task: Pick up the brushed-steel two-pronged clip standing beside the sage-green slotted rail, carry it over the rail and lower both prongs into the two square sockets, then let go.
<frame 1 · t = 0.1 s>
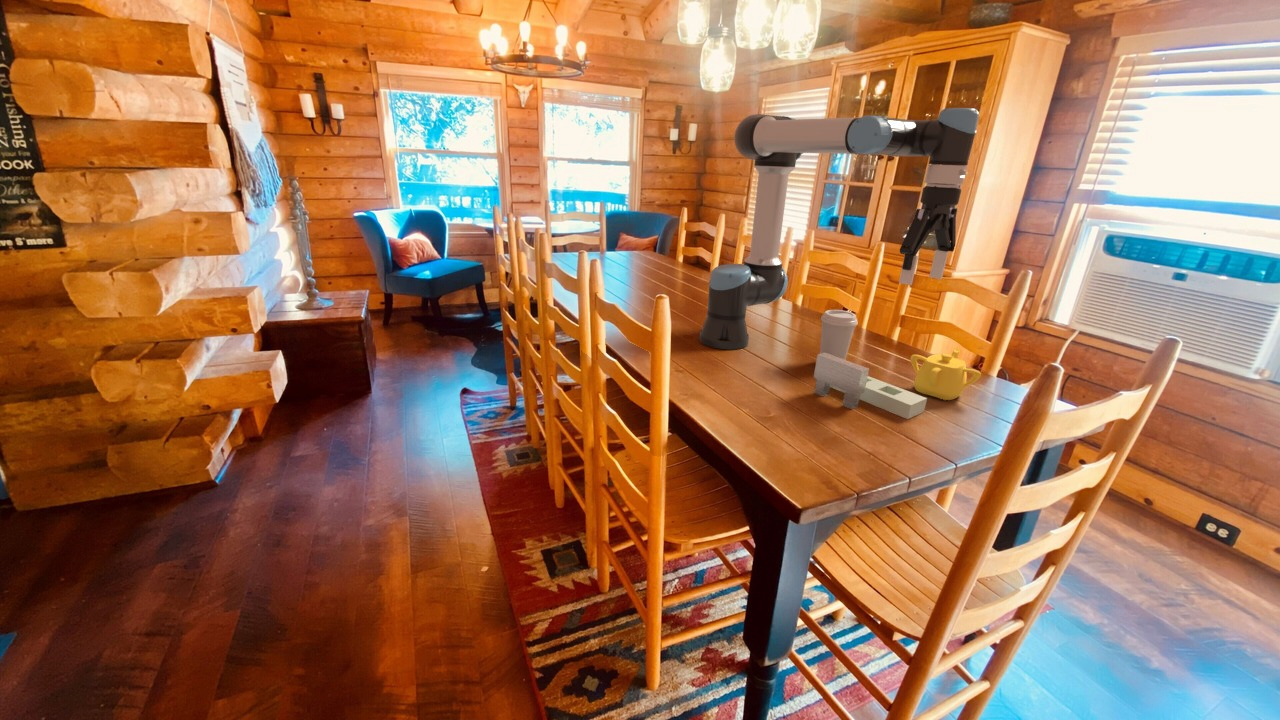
hand: (920, 281, 123), 28 cm above the table, fingers open, 13 cm apart
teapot: (937, 393, 133), on the table
clip: (835, 399, 126), on the table
coffee cup: (831, 365, 148), on the table
rail: (872, 397, 128), on the table
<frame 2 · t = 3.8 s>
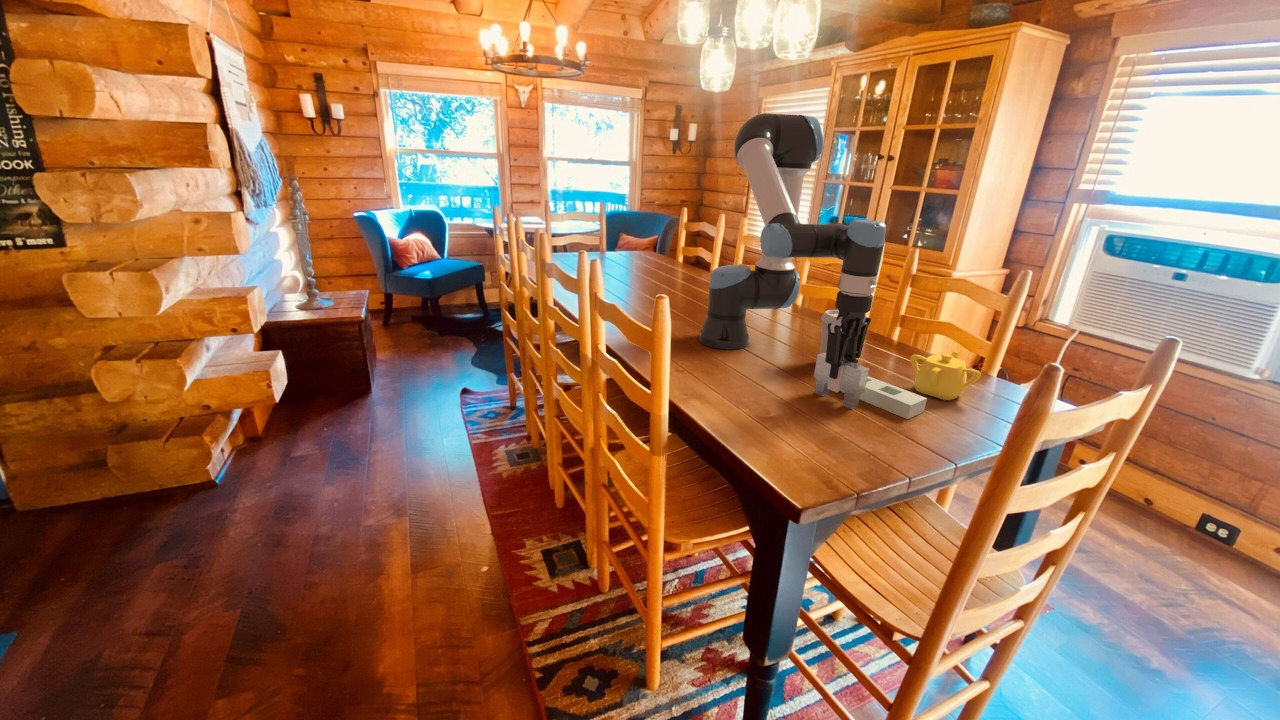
hand: (837, 388, 125), 3 cm above the table, fingers closed on clip, 3 cm apart
clip: (835, 399, 126), on the table, touching gripper
everything else where it was.
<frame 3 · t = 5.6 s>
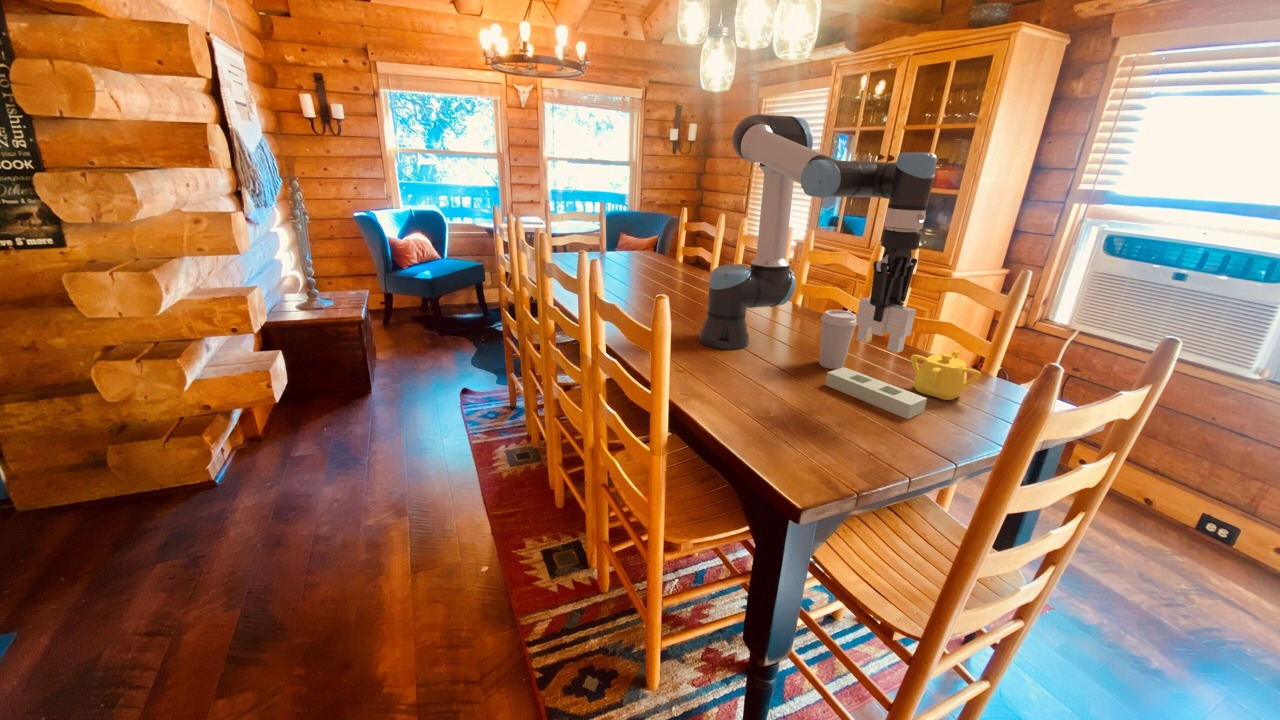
hand: (881, 332, 121), 17 cm above the table, fingers closed on clip, 3 cm apart
clip: (878, 345, 122), point 14 cm above the table, touching gripper
everything else where it was.
when the fingers open (6 cm above the table, at t = 7.8 s): clip drops 2 cm, resting on rail.
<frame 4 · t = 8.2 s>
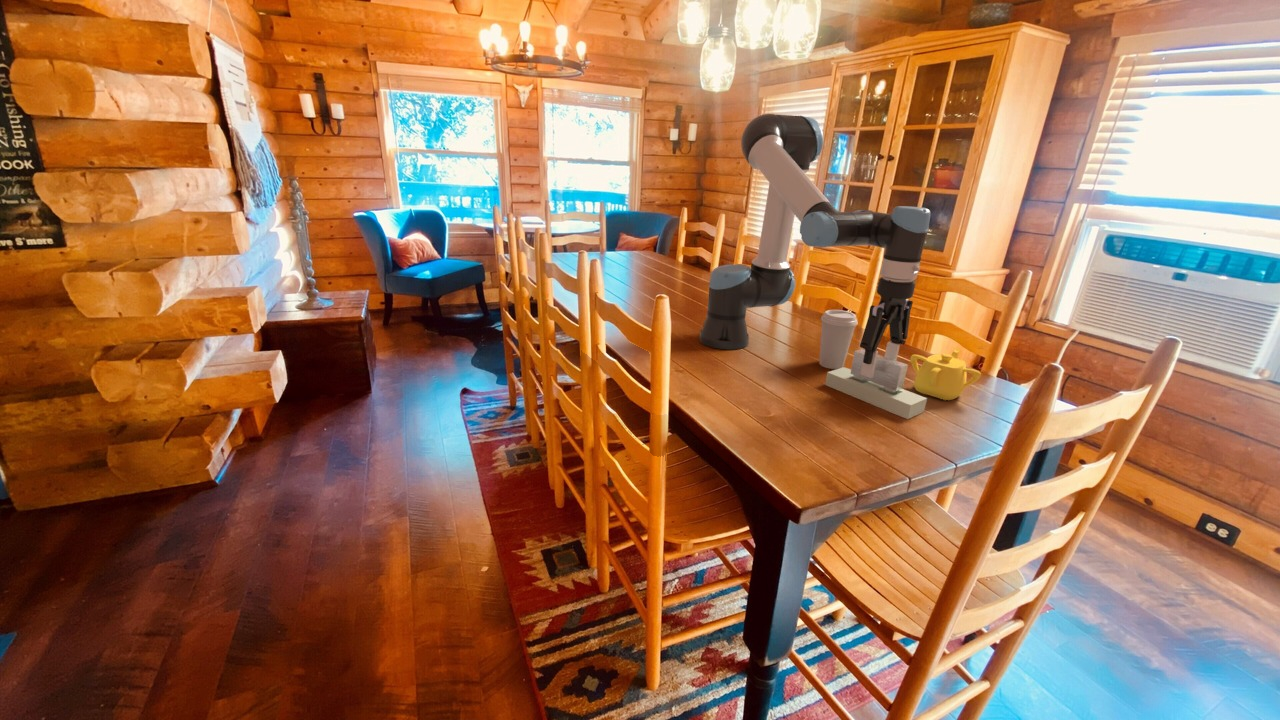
hand: (877, 371, 126), 7 cm above the table, fingers open, 8 cm apart
clip: (872, 395, 128), resting on rail
everything else where it was.
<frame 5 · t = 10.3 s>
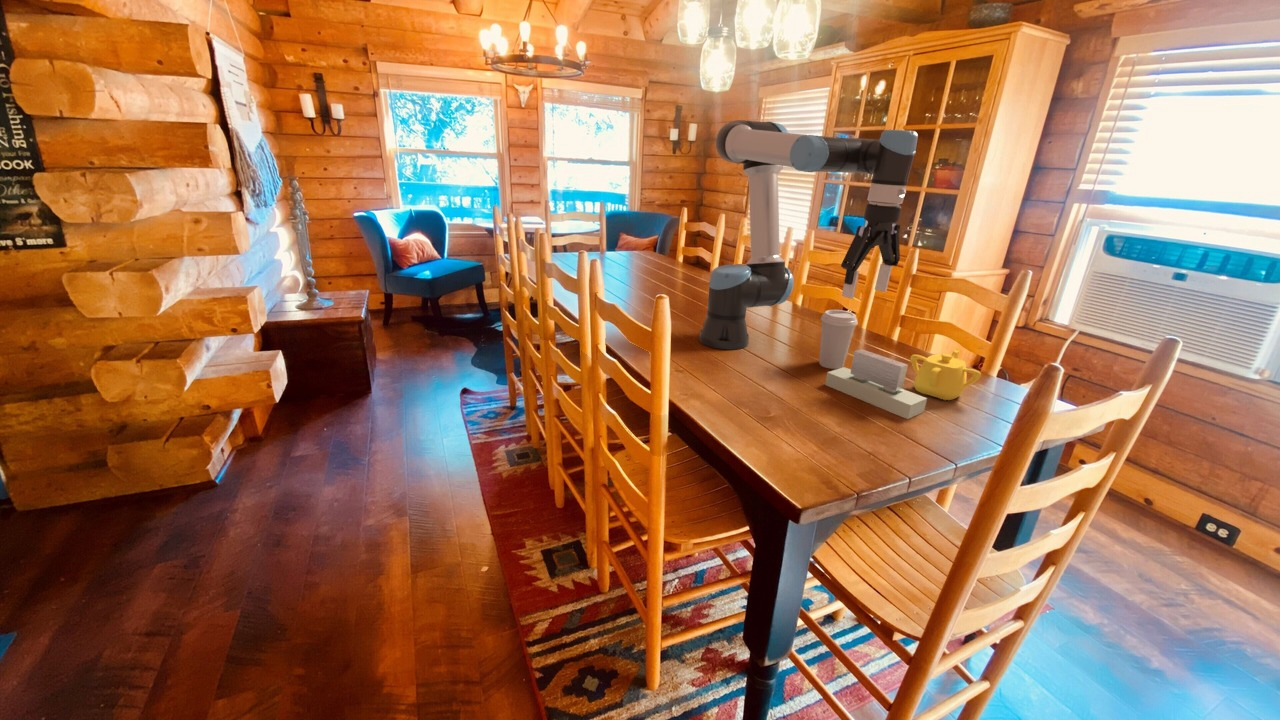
hand: (864, 294, 128), 24 cm above the table, fingers open, 13 cm apart
nothing on the table moved.
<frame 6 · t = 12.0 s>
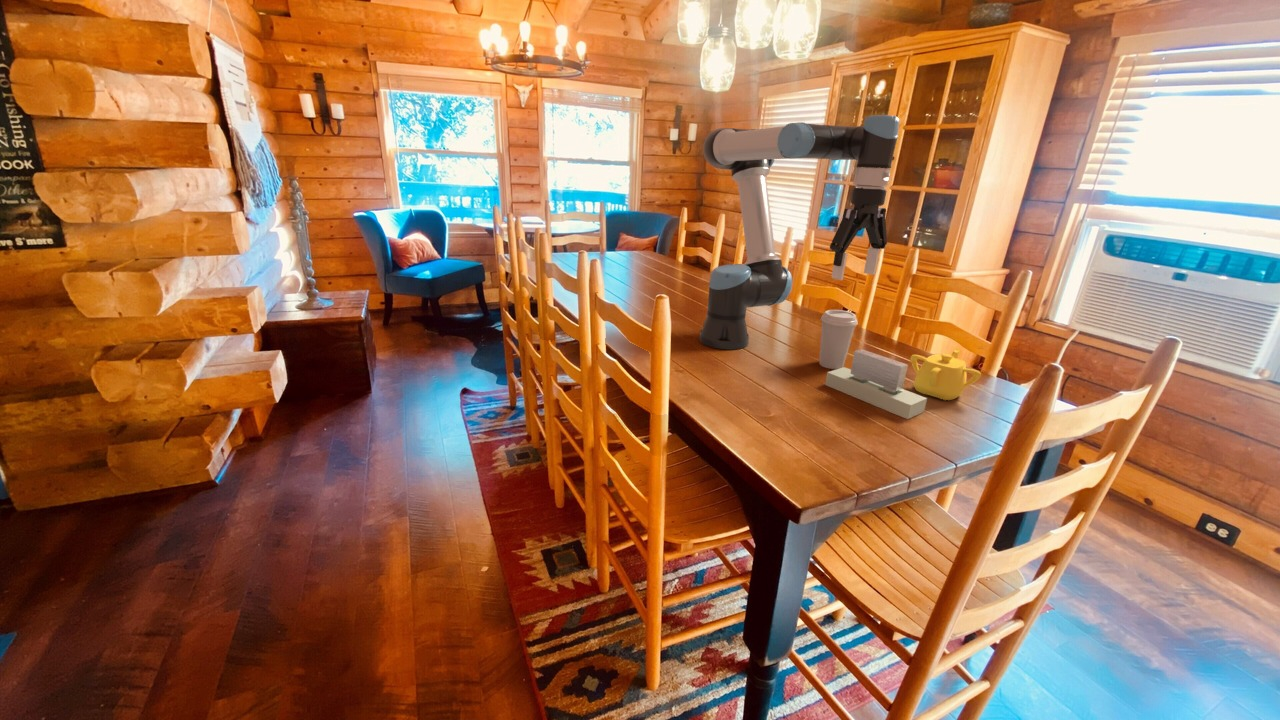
hand: (853, 276, 132), 27 cm above the table, fingers open, 13 cm apart
nothing on the table moved.
at the end: clip 0.0 cm off-centre on the rail, point 0.5 cm above the rail's base; clip tilted 0°; the gripper is holding nothing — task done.
